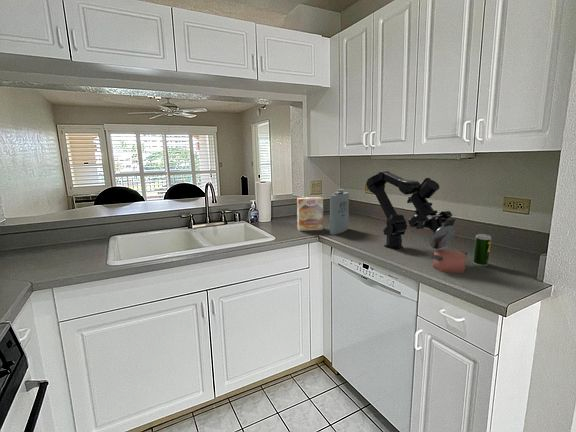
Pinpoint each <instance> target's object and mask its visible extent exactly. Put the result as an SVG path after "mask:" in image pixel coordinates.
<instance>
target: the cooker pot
mask: <svg viewBox="0 0 576 432" xmlns="http://www.w3.org/2000/svg"><path fill="white" fill-rule="evenodd" d="M433 251H434V252H433V255H431V259H433V266H432V267H433V268H434V269H435V270H436V271H438V272H443V273H447V274H462V273H464V272H465V269H466V261H467V256H468V252H467V251H463V250H455V249H448V248H447V249H443V248H439V249H435V250H433Z"/></svg>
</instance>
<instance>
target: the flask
mask: <svg viewBox="0 0 576 432" xmlns="http://www.w3.org/2000/svg"><path fill="white" fill-rule="evenodd" d="M349 203H350V192H349V191H348V192H347V191H345V189H342V188H340V189H339V188H338V189H337V191H335V192H333V194H330V195H329V235H338V234H342V233H344V232H347V231H348V230H349V211H350V207H349V206H350V205H349Z"/></svg>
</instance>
